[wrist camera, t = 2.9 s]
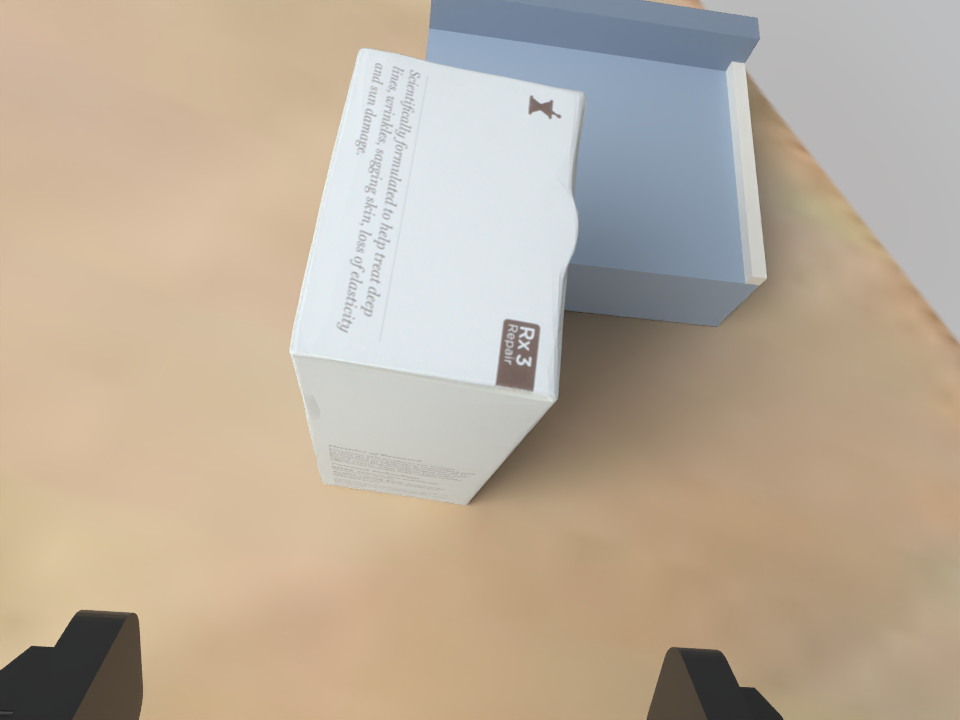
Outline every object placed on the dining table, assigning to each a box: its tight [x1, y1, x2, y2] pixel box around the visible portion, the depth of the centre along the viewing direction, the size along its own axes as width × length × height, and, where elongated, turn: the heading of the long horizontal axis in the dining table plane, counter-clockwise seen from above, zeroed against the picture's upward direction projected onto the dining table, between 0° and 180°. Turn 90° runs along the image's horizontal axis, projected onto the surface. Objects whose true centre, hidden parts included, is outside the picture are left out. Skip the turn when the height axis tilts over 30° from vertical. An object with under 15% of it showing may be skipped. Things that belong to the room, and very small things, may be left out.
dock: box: [426, 0, 767, 327], centre depth 32 cm, size 14×12×6 cm
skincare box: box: [289, 48, 587, 505], centre depth 23 cm, size 8×6×15 cm
